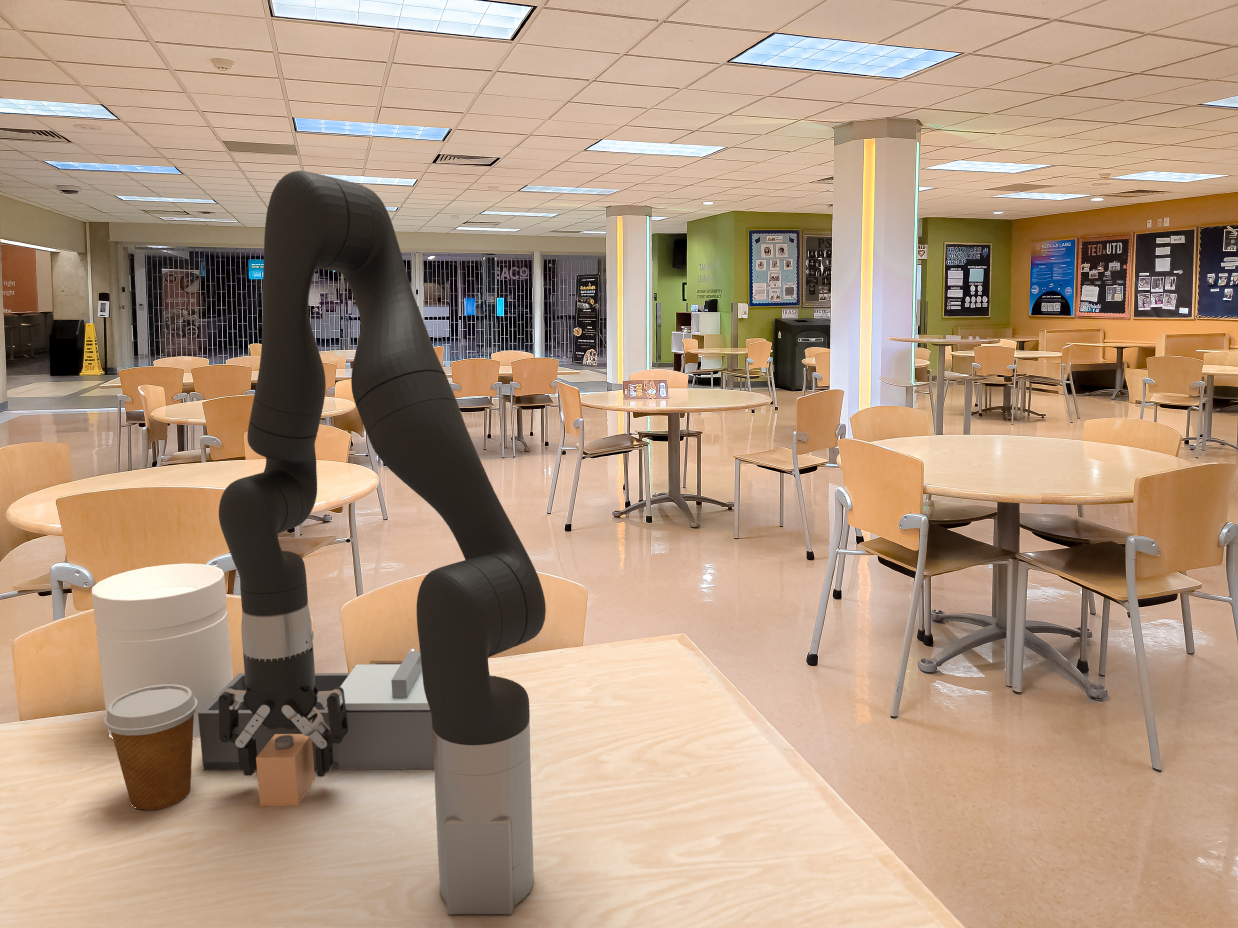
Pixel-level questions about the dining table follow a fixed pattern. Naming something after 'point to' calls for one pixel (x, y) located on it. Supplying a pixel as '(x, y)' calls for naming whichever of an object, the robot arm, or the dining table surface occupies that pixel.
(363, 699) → the lid
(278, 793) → the orange rectangular block
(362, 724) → the frame
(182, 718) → the disposable coffee cup
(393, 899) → the dining table surface
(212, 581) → the canister
